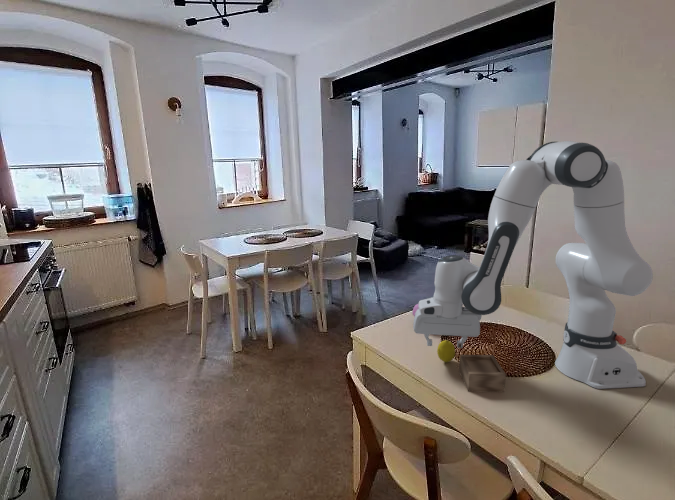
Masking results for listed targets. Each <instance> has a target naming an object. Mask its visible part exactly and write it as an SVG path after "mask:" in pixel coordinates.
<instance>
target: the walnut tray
mask: <svg viewBox="0 0 675 500" xmlns="http://www.w3.org/2000/svg"><path fill="white" fill-rule="evenodd" d="M458 372H459V375H460V376H461V379H462V381H463V384H464V386H465V388H466V390H467V392H468V393H469V392H473V393H474V392H477V393H478V392H479V393H481V392H482V393H483V392H485V393H504V392H505V385H506V377H507V374H506V372H505V371H504V369H503V368H502V366H501V364H500V363H499V362H498V360H497V359H496V357H495V356H494V354H459V363H458Z"/></svg>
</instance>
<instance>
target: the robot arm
mask: <svg viewBox="0 0 675 500" xmlns="http://www.w3.org/2000/svg"><path fill="white" fill-rule="evenodd" d="M552 185H559V186H560V185H562V186H565V187H569V188H571V189H572V191H573V218H574V219H573V220H574V230H575V232H576V234H577V235H578V236H579V237H580V239H582V240H583V241H584V242H569V243H568V242H567V243H565V244H563V245H562V246H561V247H560V248H559V249H558V251H556V255H555V266H556V267H557V269H558V270H559V271H560V273H561V274H562V277H563V278H564V282H565V284H566V287H567V291H568V295H569V297H568V298H569V304H568V305H569V307H568V308H569V309H568V315H567V322H565V326H564V331H563V342H562V347H561V349H560V351H559V354H558V356H557V358H556V359H555V360H554V361H555V362H554V364H555V367H556V368H557V369H558V370H559V372H561V374H563V375H565V376H567V377H569V378H571V379H573V380H576V381H578V382H582V383H584V384H587V385H588V386H590V387H592V388H593V389H597V390H599V389H600V390H601V389H602V390H603V389H620V388H621V389H622V388H636V387H637V388H640V387H646V383H647V382H646V379H645V377H644V375H643V374H642V373H641V372H640V371H639V370H638V365H637V362H636V360H635V358H634V357H633V356H632V354H631V353H629V352H628V351H627V350H626V349H625V348H623V347H622V346H621V345H625V344H626V342H627V339H626V338H625V337H623V336H622V335H619V334H618V333H617V332H616V331H614V330H613V328H614V324H615V320H616V319H615V317H616V305H615V304H614V303H613V302H612V300H611V299H610V298H609V296H608V295H607V293H606V291H607V292H610V293H612V294H618V295H623V296H629V297H635V296H638V295H640V294H642V293H644V292H645V291H647V289H648V288H649V287H650V286H651V284H652V281H653V278H654V273H653V269H652V267H651V265H650V264H649V263H648V262H647V261H646V260H644V259H643V258H642V256H641V255H640V254H639V253H638V251H636V249H635V247H634V246H633V244H632V242H631V240H630V238H629V235H628V231H627V228H626V217H625V216H626V215H625V187H624V180H623V175H622V171H621V167H620V166H619V165H618V163H616V162H615V161H613V160H609V159H606V157H605V155H604V154H603V151H601V150H600V148H598V147H597V146H595V145H593V144H591V143H587V142H579V141H573V140H564V141H549V142H546V143H544V144H542V145H540V146H538V147H537V148H536V149H535V150H534V151H533V152H532V154H531V155H529V156H528V157H527V158H526V159H521V160H516V161H514V162H512V163H511V164H510V165H509V166H508V168H507V170H506V171H505V172H504V174H503V176H502V178H501V180H500V181H499V183H498V185H497V187H496V190H495V192H494V195H493V197H492V200H491V203H490V205H489V206H490V207H489V211H488V215H487V216H488V217H487V226H488V227H487V228H488V241H487V246H486V249H485V252H484V255H483V258H482V260H481V263H480V266H479V265H478V264H477V265H476V264H474V263H472V262H471V261H468V260H467V259H466V258H465V256H463V255H458V254H452V255H446V256H442V257H441V258H440V259H439V260H438V261H437V264H436V266H435V273H434V281H433V282H434V293H433V296H431V297H428V298H425V299H420V300H419V301H418V303H417V304H418V307H419V309H417V311H416V313H415V317H414V316H413V317H414V318H413V324H412V325H413V332H414V333H415V334H418V335H420V334H422V335H424V338H425V340H426V346H428V347H433V339H432V338H430V335H434V336H435V335H438V336H451V337H452V336H455V337H461V338H460V339H459V340H457V341H456V347H457V349H463V347H464V344H465V342H466V341H467V340H468V337H470V338H471V337H472V338H477V337H479V335H481V323H480V321H481V319H482V316H487V315H490V314H493V313H494V312H496V311H497V310H498V309H500V306H501V303H502V290H501V288H502V287H501V286H502V281H503V279H504V276H505V273H506V270H507V269H508V268H507V267H509V266H508V265H509V263H510V260H511V258H512V255H513V252H514V251H515V248H516V246H517V244H518V242H519V240H520V238H521V237H522V235H523V233H524V231H525V230H526V228H527V227H528V224H529V223H530V221H531V219H532V217H533V215H534V213H535V211H536V208H537V206H538V203H539V201H540V198H541V196H542V195H543V193H544V191H545V190H547V189H548V187H549V186H552ZM619 344H620V345H619Z"/></svg>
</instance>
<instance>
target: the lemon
mask: <svg viewBox="0 0 675 500" xmlns="http://www.w3.org/2000/svg"><path fill="white" fill-rule="evenodd" d="M436 353H437V356H438V358H439V360H440V361H441V362H444V363H450V362H451V361H453V359H454V358H455V355H456V349H455V345H454V344H453V342H452V341H450V340H448V339H446V340H442V341H440V342H439V344H438V345H437V351H436Z"/></svg>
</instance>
